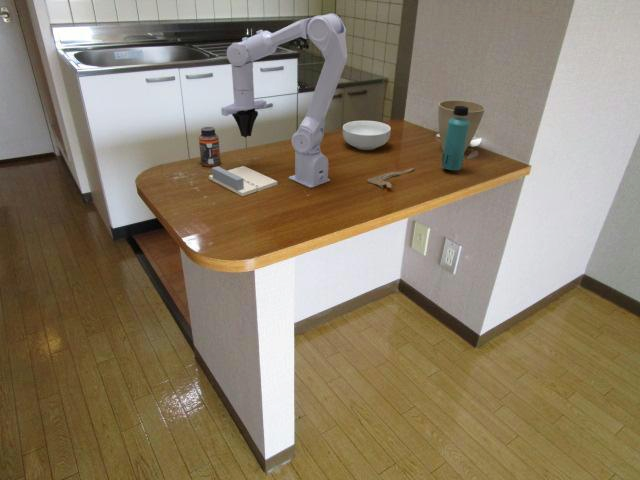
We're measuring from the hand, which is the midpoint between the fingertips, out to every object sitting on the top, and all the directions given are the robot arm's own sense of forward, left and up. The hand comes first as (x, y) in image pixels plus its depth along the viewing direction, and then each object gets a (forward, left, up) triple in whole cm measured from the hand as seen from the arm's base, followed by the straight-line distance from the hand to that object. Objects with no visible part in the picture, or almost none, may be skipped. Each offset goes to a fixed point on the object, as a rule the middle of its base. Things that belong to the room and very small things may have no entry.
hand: (246, 135), depth 135 cm
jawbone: (-36, -28, -11) cm, 47 cm away
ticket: (-7, +4, -10) cm, 13 cm away
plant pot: (-34, -63, -11) cm, 72 cm away
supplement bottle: (+11, +6, -11) cm, 16 cm away
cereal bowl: (-10, -44, -11) cm, 46 cm away
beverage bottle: (-43, -46, -11) cm, 64 cm away
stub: (-7, +11, -10) cm, 16 cm away
